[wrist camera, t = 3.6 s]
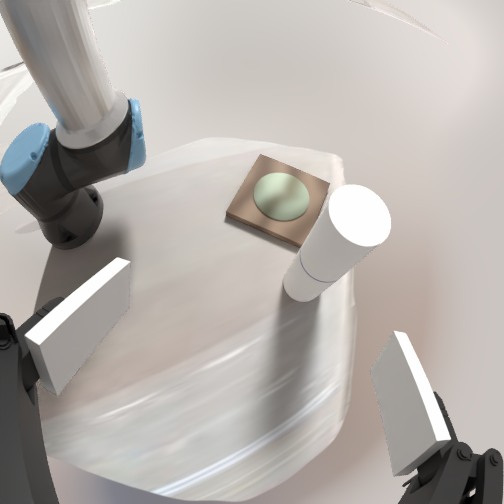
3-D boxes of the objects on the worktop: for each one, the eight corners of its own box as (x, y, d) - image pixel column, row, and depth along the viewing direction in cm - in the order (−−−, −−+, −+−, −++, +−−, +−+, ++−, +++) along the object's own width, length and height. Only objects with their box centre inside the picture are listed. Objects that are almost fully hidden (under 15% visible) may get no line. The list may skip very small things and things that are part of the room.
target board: (226, 215, 54) (226, 210, 52) (259, 158, 60) (260, 153, 58) (304, 249, 53) (306, 245, 51) (327, 187, 59) (330, 182, 57)
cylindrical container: (274, 279, 50) (314, 206, 27) (303, 256, 52) (356, 174, 29) (301, 310, 48) (365, 260, 25) (329, 284, 51) (402, 221, 27)
